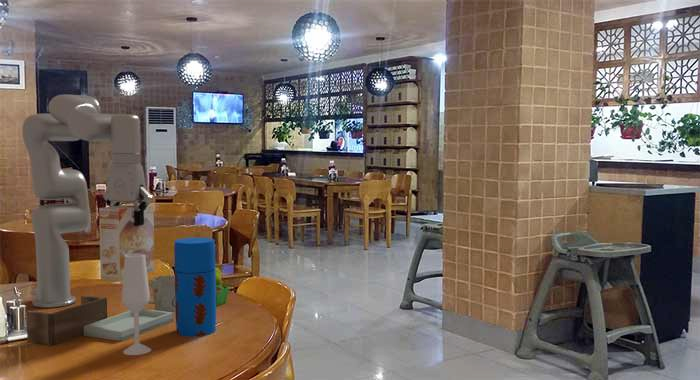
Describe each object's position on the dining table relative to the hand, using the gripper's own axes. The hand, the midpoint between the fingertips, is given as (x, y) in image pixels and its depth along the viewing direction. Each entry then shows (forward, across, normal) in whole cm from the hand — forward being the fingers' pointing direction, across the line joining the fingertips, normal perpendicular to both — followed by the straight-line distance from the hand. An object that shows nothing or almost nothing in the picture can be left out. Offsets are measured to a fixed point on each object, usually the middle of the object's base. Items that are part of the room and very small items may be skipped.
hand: (127, 224), depth 184 cm
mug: (+29, -5, +19) cm, 35 cm away
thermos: (+29, +19, +5) cm, 35 cm away
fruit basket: (+29, +4, +33) cm, 44 cm away
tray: (+29, 0, 0) cm, 29 cm away
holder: (+29, -11, -11) cm, 33 cm away
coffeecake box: (+15, 0, 0) cm, 15 cm away
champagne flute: (+29, +16, -15) cm, 36 cm away
